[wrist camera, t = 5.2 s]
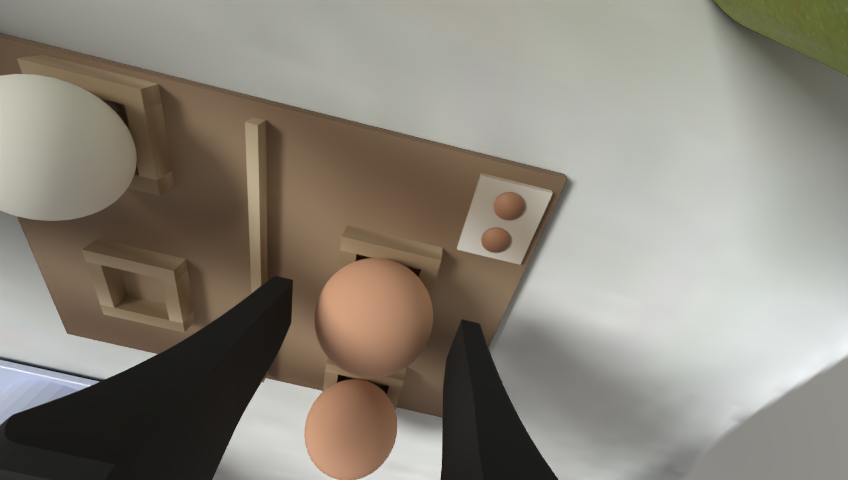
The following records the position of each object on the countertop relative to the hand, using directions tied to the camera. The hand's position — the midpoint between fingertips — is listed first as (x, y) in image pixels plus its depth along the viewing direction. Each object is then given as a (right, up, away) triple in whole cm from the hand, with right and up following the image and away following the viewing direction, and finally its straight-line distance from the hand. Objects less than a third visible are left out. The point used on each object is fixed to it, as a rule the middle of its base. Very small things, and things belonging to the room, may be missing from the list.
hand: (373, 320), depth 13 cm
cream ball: (-9, +5, -2) cm, 11 cm away
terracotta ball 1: (0, 0, 0) cm, 0 cm away
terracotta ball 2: (-1, -6, +4) cm, 7 cm away
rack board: (-5, +2, +3) cm, 6 cm away
